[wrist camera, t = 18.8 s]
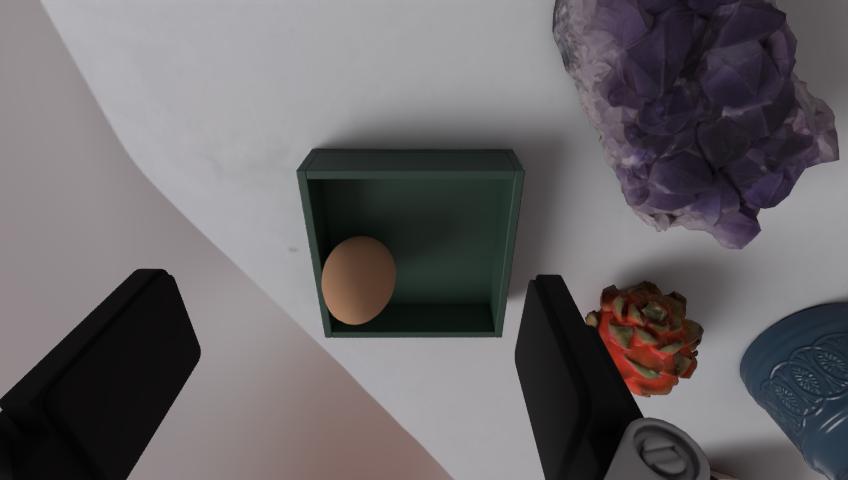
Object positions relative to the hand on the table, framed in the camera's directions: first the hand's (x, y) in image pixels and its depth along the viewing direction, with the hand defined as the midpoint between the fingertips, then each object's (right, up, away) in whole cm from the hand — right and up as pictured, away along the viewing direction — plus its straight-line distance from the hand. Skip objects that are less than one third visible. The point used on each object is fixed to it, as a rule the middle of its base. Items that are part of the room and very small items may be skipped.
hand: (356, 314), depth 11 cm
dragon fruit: (+20, -4, +25) cm, 33 cm away
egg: (-3, +1, +21) cm, 21 cm away
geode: (+16, +13, +15) cm, 25 cm away
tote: (+1, +2, +21) cm, 21 cm away
